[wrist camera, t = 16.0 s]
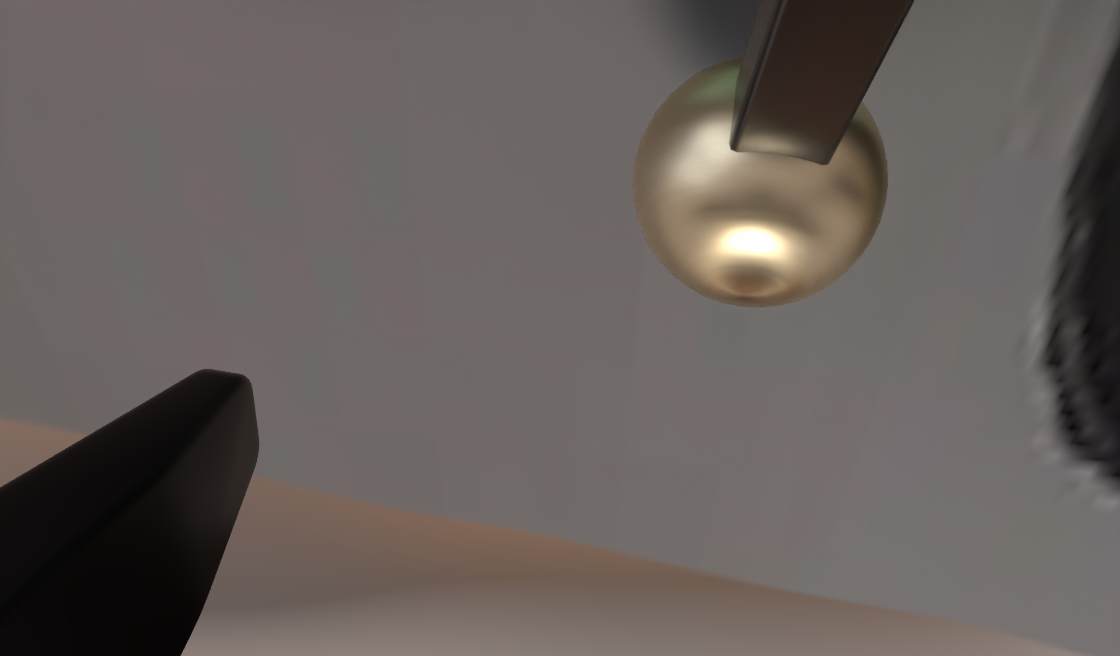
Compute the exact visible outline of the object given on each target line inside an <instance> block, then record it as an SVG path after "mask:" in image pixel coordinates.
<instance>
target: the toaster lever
mask: <svg viewBox="0 0 1120 656" xmlns="http://www.w3.org/2000/svg"><path fill="white" fill-rule="evenodd" d="M913 2H914V0H761V3H760V6H759V9H758V13H757V16H756V19H755V22H754V26H753V29H752V32H751V35H750V39H749V42H748V45H747V48H746V52H745V55H744V57H739V58H735V59H731V60H727V61H724V62H721V63H718V64H715V65H713V66H711V67H709V68H707V69H705V70H703V71H701V72H699V73H697V74H696V75H694V76H693V77H691V78H690V79H688V80H687V81H686V82H684V83H683V84H682V85H681V86H679V87H678V88H677V89H676V90H675V91H674V92H673V93H671V95H670V96H669V97H668V98H667V99H666V100H665V102H664V103H663V104H662V105H661V106H660V108H659V109H658V110H657V111H656V113H655V115H654V116H653V118H652V120H651V121H650V123H649V125H648V127H647V128H646V130H645V133H644V135H643V138H642V140H641V142H640V146H639V149H638V153H637V157H636V161H635V167H634V179H633V192H634V203H635V208H636V212H637V217H638V221H639V224H640V227H641V229H642V232H643V234H644V236H645V239H646V241H647V243H648V244H649V246H650V248H651V249H652V251H653V253H654V254H655V256H656V257H657V258H658V260H659V261H660V262H661V263H662V264H663V266H664V267H665V268H666V269H667V270H668V271H669V272H670V273H671V274H672V275H673V276H675V277H676V278H677V279H678V280H679V281H680V282H682V283H683V284H684V285H686V286H687V287H689V288H691V289H692V290H694V291H696V292H698V293H699V294H701V295H703V296H705V297H708V298H710V299H713V300H716V301H719V302H723V303H727V304H731V305H736V306H743V307H768V306H777V305H783V304H787V303H791V302H794V301H797V300H800V299H803V298H806V297H808V296H811V295H813V294H815V293H816V292H818V291H820V290H822V289H824V288H825V287H827V286H829V285H830V284H832V283H833V282H834V281H835V280H837V279H838V278H839V277H840V276H842V275H843V274H844V273H845V272H847V271H848V269H849V268H850V267H851V266H852V265H853V264H854V263H855V262H856V261H857V260H858V258H859V257H860V256H861V255H862V253H863V252H864V250H865V249H866V247H867V246H868V244H869V243H870V241H871V239H872V237H873V236H874V233H875V231H876V229H877V227H878V225H879V223H880V219H881V216H882V212H883V209H884V205H885V201H886V195H887V187H888V173H887V159H886V154H885V149H884V145H883V141H882V138H881V135H880V133H879V130H878V128H877V125H876V124H875V122H874V120H873V118H872V116H871V114H870V113H869V111H868V110H867V108H866V106H865V105H864V104H863V103H862V100H863V98H864V96H865V94H866V92H867V90H868V88H869V86H870V84H871V83H872V81H873V79H874V77H875V75H876V73H877V71H878V69H879V67H880V65H881V63H882V61H883V60H884V58H885V56H886V54H887V52H888V50H889V48H890V46H891V44H892V42H893V40H894V38H895V37H896V35H897V33H898V31H899V29H900V27H901V25H902V23H903V21H904V19H905V17H906V16H907V14H908V12H909V10H910V8H911V6H912V4H913Z"/></svg>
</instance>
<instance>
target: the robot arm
mask: <svg viewBox="0 0 1120 656" xmlns="http://www.w3.org/2000/svg"><path fill="white" fill-rule="evenodd" d="M258 452H259V436H258V428H257V420H256V412H255V404H254V396H253V389H252V385H251V383H250V381H249V379H248V378H247V377H246V376H244V375H242V374H237V373H231V372H225V371H219V370H212V369H203V370H200V371H197V372H195V373H193V374H192V375H190V376H188V377H187V378H185V379H183V380H181V381H180V382H178V383H176V384H175V385H173V386H171V387H170V388H168V389H166V390H165V391H163V392H161V393H159V394H158V395H156V396H154V397H153V398H151V399H149V400H148V401H146V402H144V403H143V404H141V405H139V406H137V407H136V408H134V409H132V410H131V411H129V412H127V413H126V414H124V415H122V416H120V417H119V418H117V419H115V420H114V421H112V422H110V423H109V424H107V425H105V426H104V427H102V428H100V429H98V430H97V431H95V432H93V433H92V434H90V435H88V436H87V437H85V438H83V439H82V440H80V441H78V442H76V443H75V444H73V445H71V446H70V447H68V448H66V449H65V450H63V451H61V452H59V453H58V454H56V455H54V456H53V457H51V458H49V459H48V460H46V461H44V462H43V463H41V464H39V465H37V466H36V467H34V468H32V469H31V470H29V471H28V472H26V473H24V474H22V475H21V476H19V477H17V478H16V479H14V480H12V481H10V482H9V483H7V484H5V485H4V486H2V487H0V656H181V654H182V652H183V650H184V648H185V646H186V644H187V642H188V640H189V638H190V636H191V634H192V631H193V629H194V627H195V625H196V623H197V621H198V619H199V616H200V614H201V612H202V609H203V607H204V604H205V601H206V599H207V596H208V594H209V591H210V589H211V586H212V583H213V581H214V578H215V575H216V572H217V570H218V567H219V564H220V562H221V559H222V556H223V553H224V551H225V548H226V545H227V542H228V540H229V537H230V534H231V532H232V529H233V526H234V523H235V520H236V518H237V515H238V512H239V510H240V507H241V504H242V501H243V499H244V496H245V493H246V491H247V488H248V485H249V482H250V480H251V477H252V474H253V472H254V469H255V466H256V462H257V458H258Z"/></svg>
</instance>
